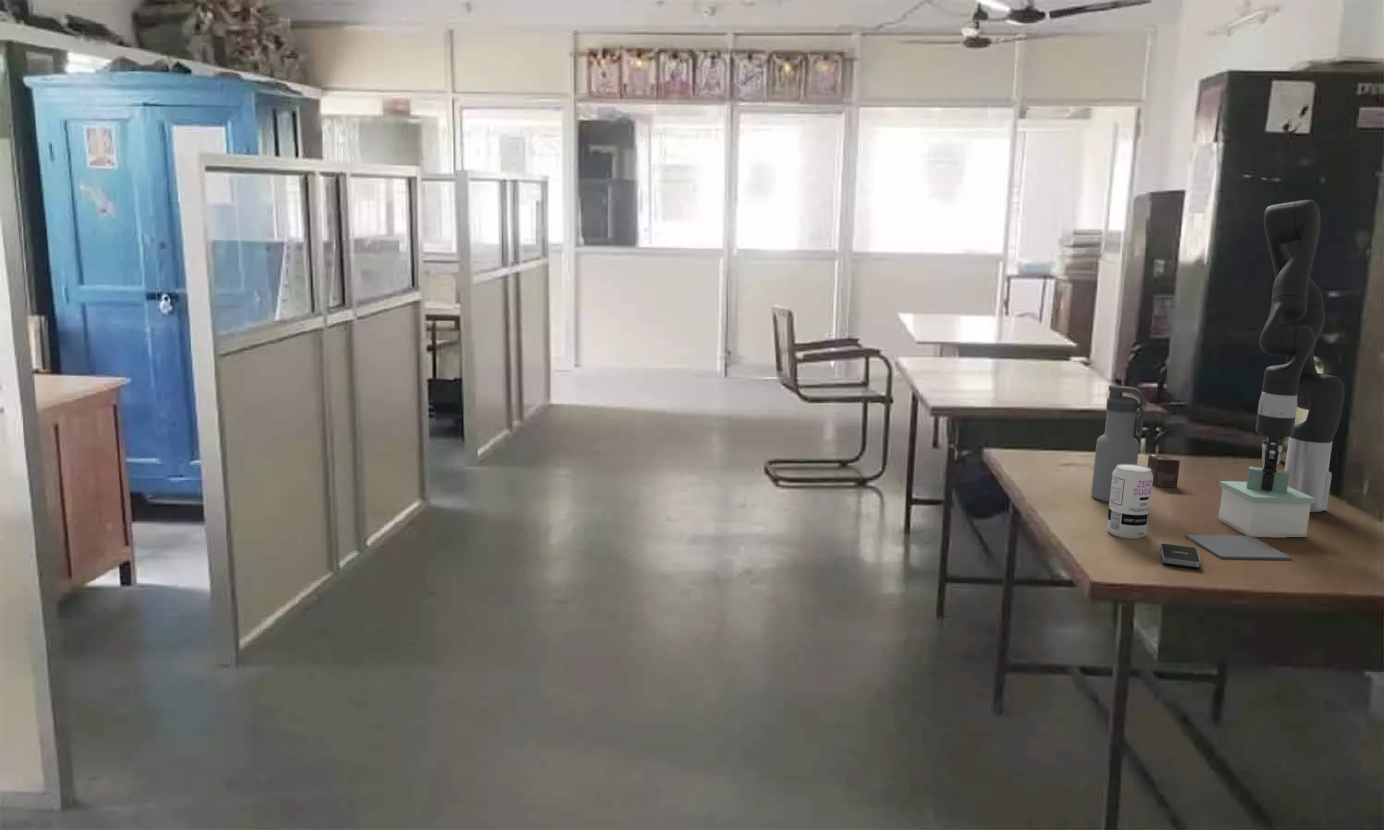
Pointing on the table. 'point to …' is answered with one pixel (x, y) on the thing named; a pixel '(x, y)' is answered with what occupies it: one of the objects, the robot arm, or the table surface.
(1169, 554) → the external hard drive
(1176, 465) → the box
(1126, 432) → the water bottle
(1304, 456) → the robot arm
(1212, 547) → the mat
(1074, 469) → the table surface
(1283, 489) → the lid
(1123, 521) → the supplement can
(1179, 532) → the table surface
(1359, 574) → the table surface
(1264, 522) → the storage box
